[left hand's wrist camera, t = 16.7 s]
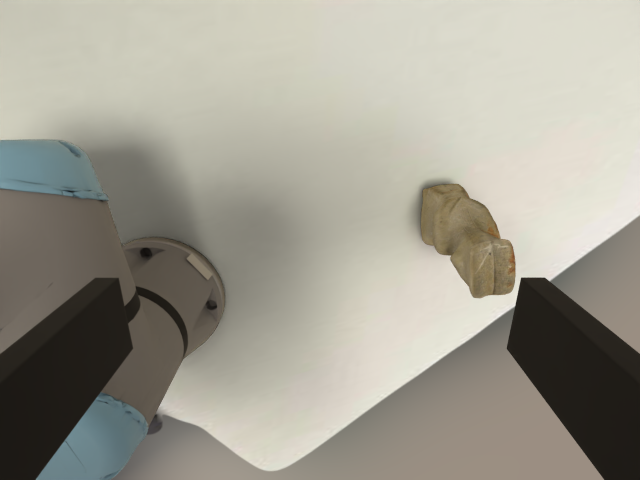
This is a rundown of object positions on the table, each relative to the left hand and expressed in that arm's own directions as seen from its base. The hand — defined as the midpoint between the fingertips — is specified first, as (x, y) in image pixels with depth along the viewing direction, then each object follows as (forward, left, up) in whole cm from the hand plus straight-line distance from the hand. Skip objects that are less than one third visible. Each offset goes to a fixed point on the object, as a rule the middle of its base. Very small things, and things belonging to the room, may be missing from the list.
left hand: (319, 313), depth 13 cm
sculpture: (+6, -13, -31) cm, 34 cm away
